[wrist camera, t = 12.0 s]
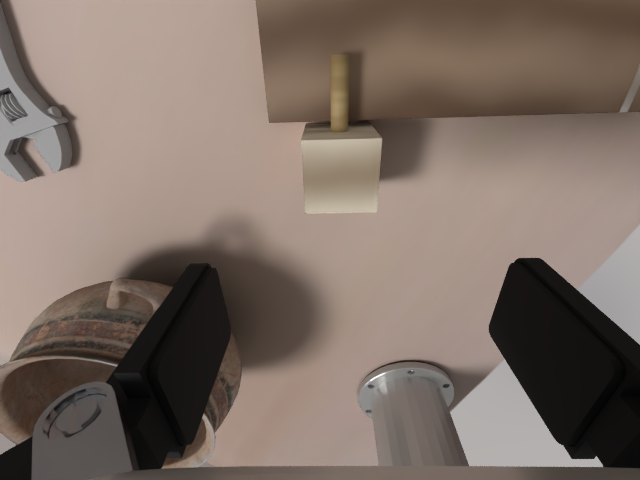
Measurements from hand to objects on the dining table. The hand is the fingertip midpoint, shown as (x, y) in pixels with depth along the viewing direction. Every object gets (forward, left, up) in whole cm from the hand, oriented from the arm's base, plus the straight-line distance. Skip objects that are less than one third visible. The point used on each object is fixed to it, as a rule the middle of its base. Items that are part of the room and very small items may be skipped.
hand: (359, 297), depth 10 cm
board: (+9, -9, -17) cm, 22 cm away
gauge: (+2, 0, -17) cm, 18 cm away
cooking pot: (-18, +19, -18) cm, 32 cm away
